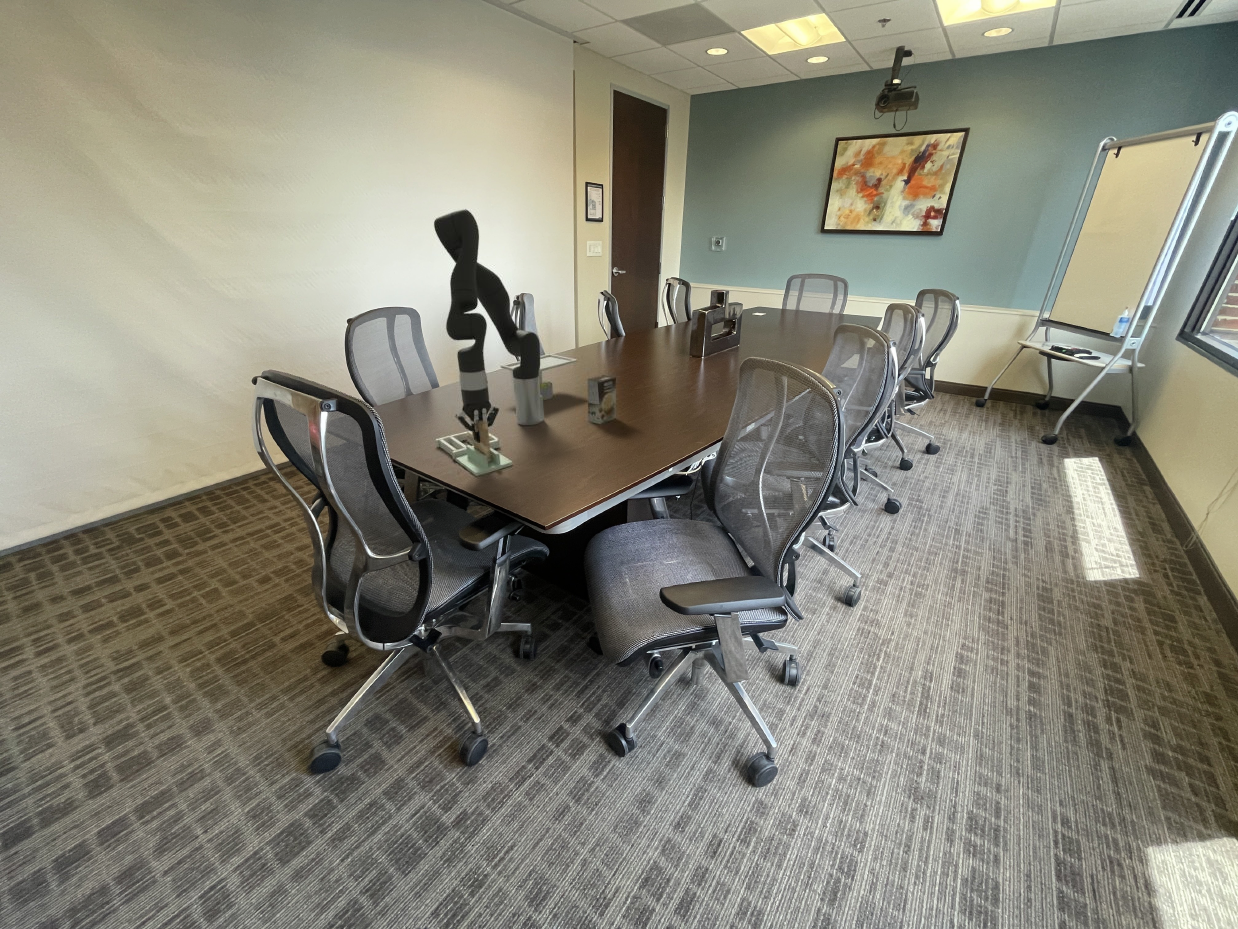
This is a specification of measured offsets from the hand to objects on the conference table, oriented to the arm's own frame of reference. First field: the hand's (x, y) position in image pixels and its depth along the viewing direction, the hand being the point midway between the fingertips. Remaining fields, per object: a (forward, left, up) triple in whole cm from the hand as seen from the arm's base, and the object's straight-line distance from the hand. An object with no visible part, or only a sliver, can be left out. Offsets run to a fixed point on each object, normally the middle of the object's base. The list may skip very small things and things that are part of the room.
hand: (481, 441), depth 150 cm
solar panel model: (-50, -46, -7) cm, 68 cm away
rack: (-2, -15, -7) cm, 17 cm away
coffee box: (-52, -7, -7) cm, 53 cm away
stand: (0, 0, -7) cm, 7 cm away
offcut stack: (-6, -15, -7) cm, 18 cm away
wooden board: (0, 0, -5) cm, 5 cm away
